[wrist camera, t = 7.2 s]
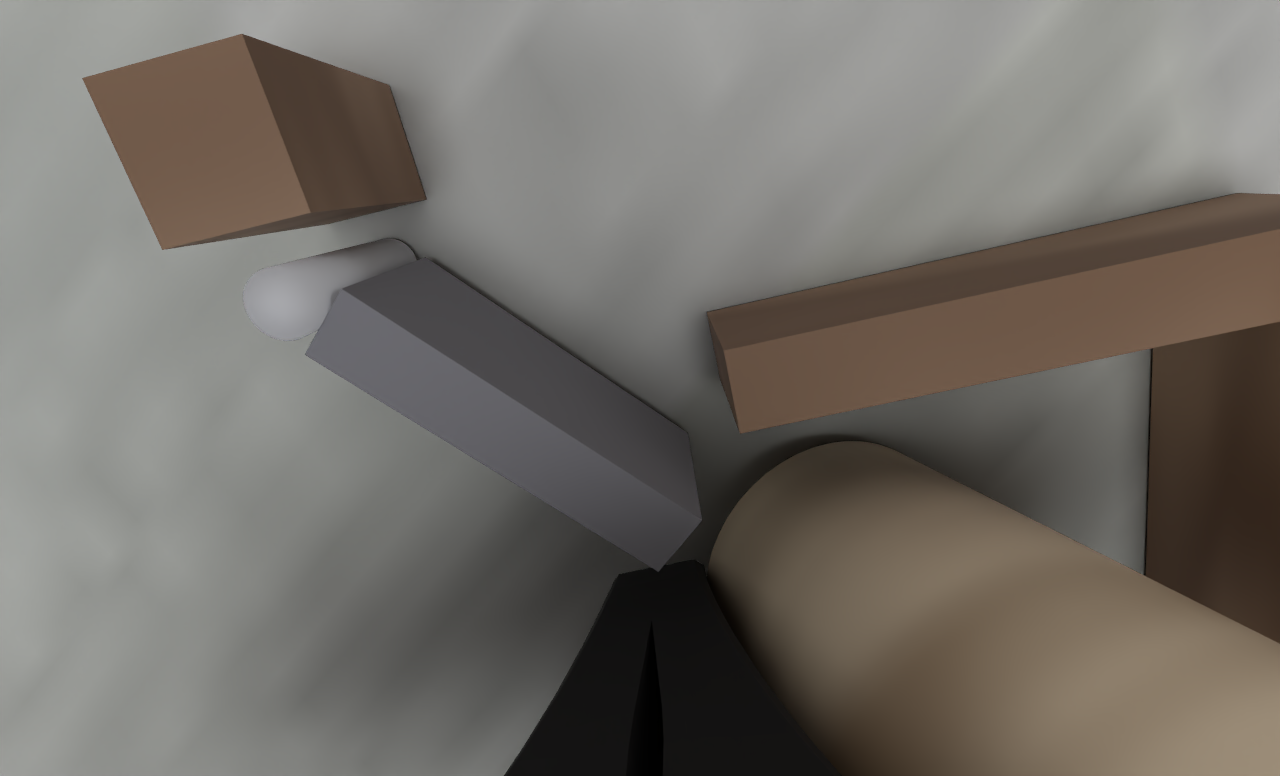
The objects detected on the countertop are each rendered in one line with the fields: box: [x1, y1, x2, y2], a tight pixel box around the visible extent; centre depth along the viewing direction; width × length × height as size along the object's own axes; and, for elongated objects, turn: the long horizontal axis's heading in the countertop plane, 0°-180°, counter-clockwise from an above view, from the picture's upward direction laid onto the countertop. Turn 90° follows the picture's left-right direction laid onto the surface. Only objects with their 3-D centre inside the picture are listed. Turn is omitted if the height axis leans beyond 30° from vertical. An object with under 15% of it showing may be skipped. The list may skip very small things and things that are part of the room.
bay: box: [707, 193, 1280, 644], centre depth 9 cm, size 8×7×2 cm
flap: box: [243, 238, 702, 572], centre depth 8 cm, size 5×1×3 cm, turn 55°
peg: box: [707, 441, 1280, 776], centre depth 6 cm, size 4×4×7 cm
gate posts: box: [82, 34, 426, 250], centre depth 9 cm, size 16×1×3 cm, turn 13°
